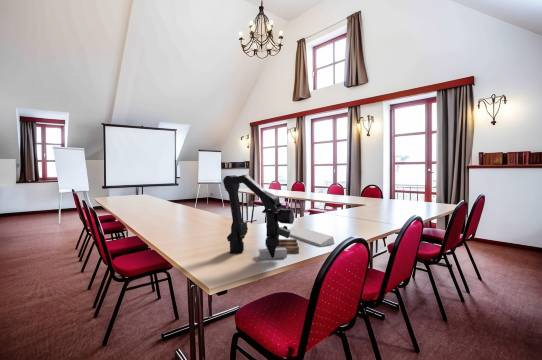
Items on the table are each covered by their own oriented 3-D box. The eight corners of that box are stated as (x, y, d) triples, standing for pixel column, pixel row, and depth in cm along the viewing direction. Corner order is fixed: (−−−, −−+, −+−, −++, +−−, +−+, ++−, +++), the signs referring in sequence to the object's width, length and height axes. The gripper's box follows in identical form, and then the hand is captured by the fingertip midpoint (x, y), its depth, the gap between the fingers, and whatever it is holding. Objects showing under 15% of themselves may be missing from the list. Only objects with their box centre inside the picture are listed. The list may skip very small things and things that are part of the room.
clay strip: (260, 259, 128) (259, 251, 128) (259, 257, 132) (259, 249, 132) (286, 257, 130) (286, 249, 130) (285, 255, 134) (285, 247, 134)
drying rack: (267, 253, 137) (267, 247, 137) (268, 244, 153) (268, 239, 153) (298, 252, 137) (298, 247, 137) (296, 244, 153) (296, 239, 152)
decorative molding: (321, 252, 147) (334, 244, 152) (320, 244, 146) (332, 236, 151) (285, 238, 176) (297, 232, 181) (283, 232, 175) (295, 225, 180)
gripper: (290, 226, 121) (290, 261, 122) (288, 218, 139) (288, 248, 140) (265, 226, 121) (265, 261, 122) (266, 218, 140) (267, 248, 140)
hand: (272, 254), depth 131 cm, fingers open, 9 cm apart
